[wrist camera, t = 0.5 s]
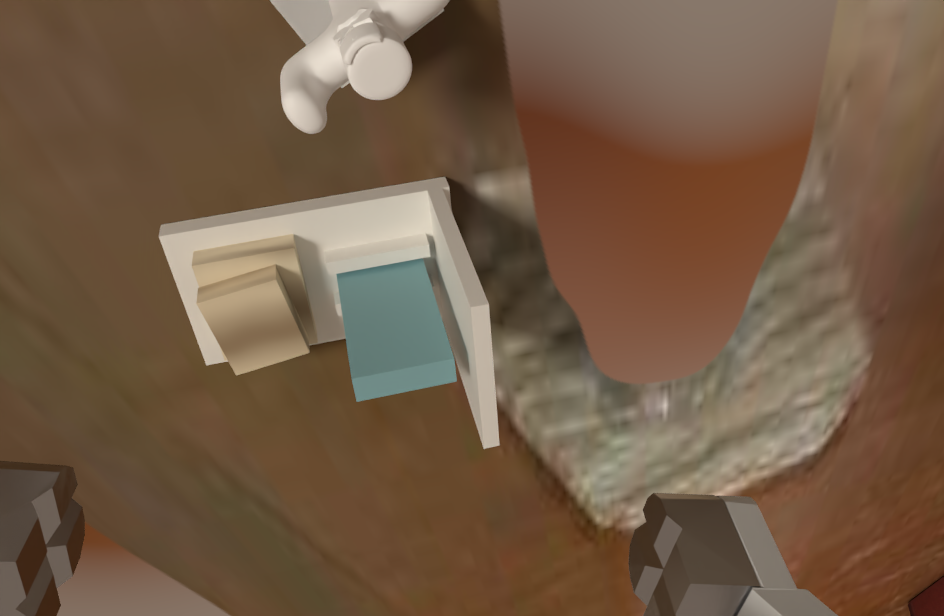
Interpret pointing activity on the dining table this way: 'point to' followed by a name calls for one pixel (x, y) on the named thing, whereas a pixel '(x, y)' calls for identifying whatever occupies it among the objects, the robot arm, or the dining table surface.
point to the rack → (360, 267)
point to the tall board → (393, 330)
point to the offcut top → (253, 319)
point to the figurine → (348, 51)
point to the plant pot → (929, 601)
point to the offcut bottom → (256, 256)
